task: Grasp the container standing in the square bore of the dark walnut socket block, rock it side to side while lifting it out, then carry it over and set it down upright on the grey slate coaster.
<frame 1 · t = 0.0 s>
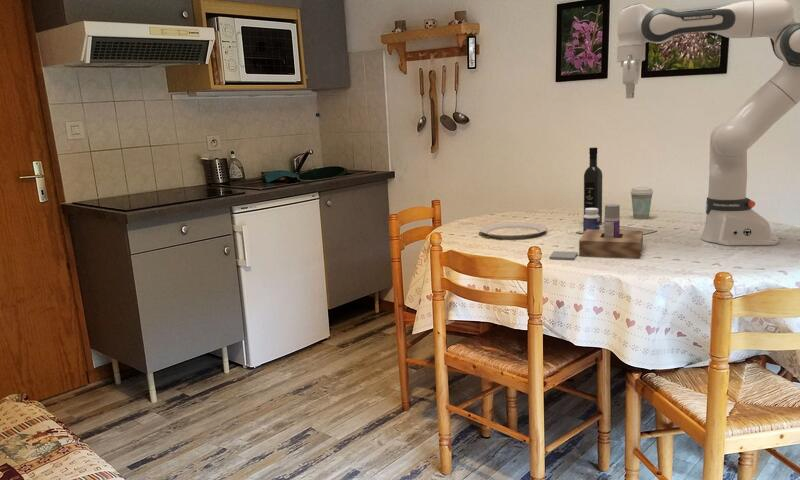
hand: (630, 98, 211), 48 cm above the table, fingers open, 8 cm apart
container: (611, 251, 203), resting in socket block
coffee cup: (641, 218, 253), on the table
coaster: (563, 256, 199), on the table
plate: (513, 233, 239), on the table
wine bottle: (592, 224, 246), on the table
pill bottle: (591, 236, 226), on the table
socket block: (611, 250, 203), on the table
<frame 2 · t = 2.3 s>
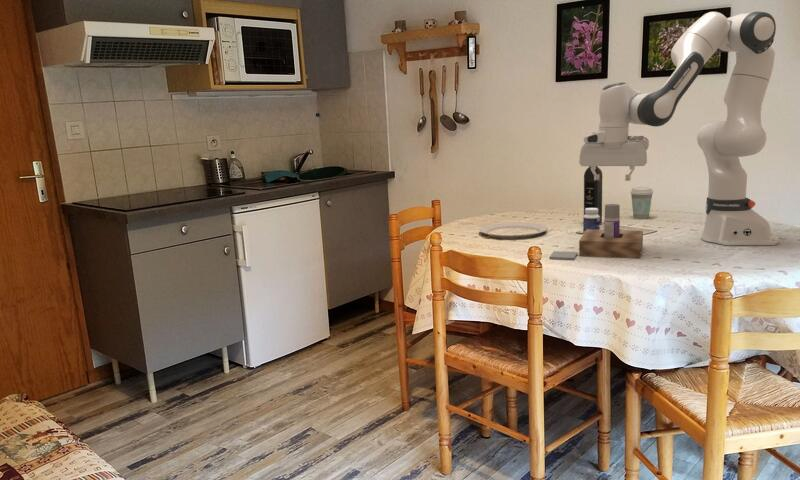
hand: (612, 180, 198), 23 cm above the table, fingers open, 8 cm apart
nothing on the table moved.
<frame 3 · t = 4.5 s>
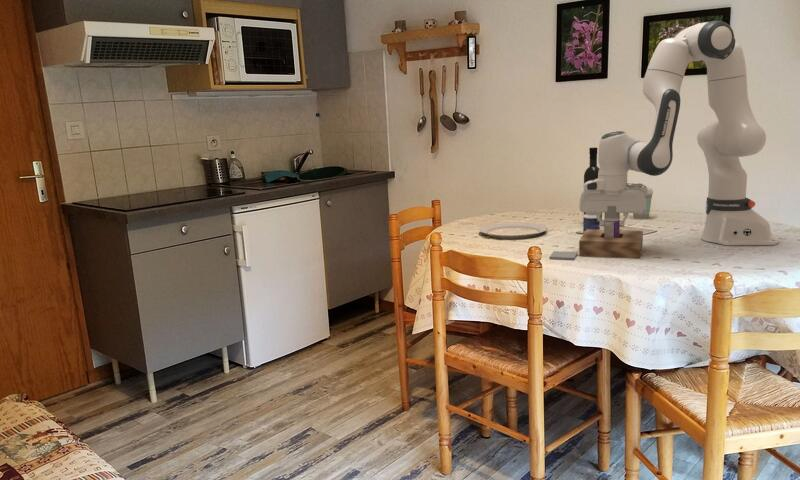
hand: (611, 226, 201), 8 cm above the table, fingers closed on container, 5 cm apart
container: (611, 251, 203), resting in socket block, touching gripper
everything else where it was.
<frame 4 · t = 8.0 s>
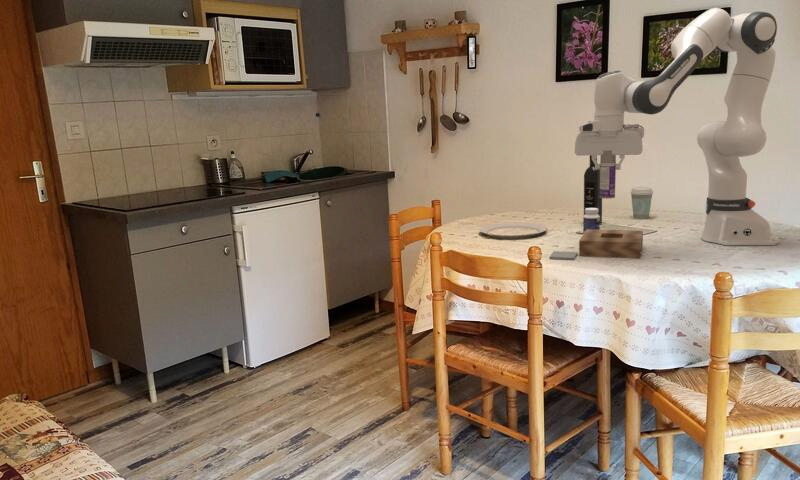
hand: (607, 169, 197), 27 cm above the table, fingers closed on container, 5 cm apart
container: (607, 198, 199), point 17 cm above the table, touching gripper
everything else where it was.
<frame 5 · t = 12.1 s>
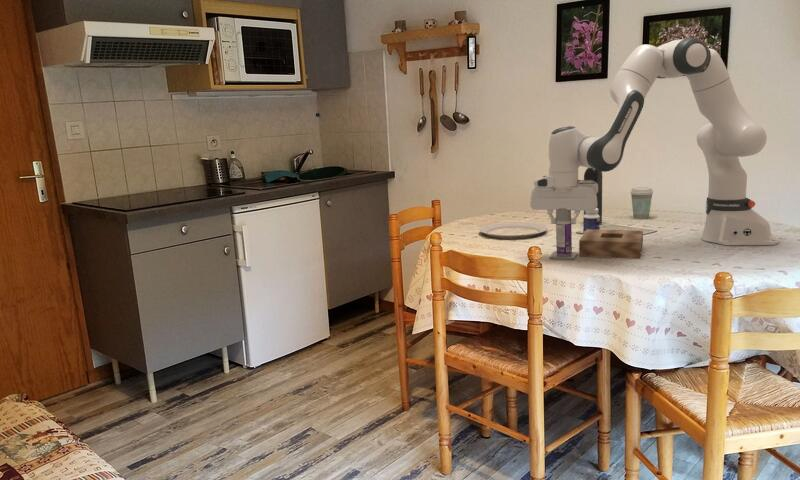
hand: (563, 223, 196), 11 cm above the table, fingers closed on container, 5 cm apart
container: (564, 254, 199), point 1 cm above the table, touching coaster, gripper
everything else where it was.
when the fingers open (11 cm above the table, at t = 12.7 s): container stays where it is, resting on coaster.
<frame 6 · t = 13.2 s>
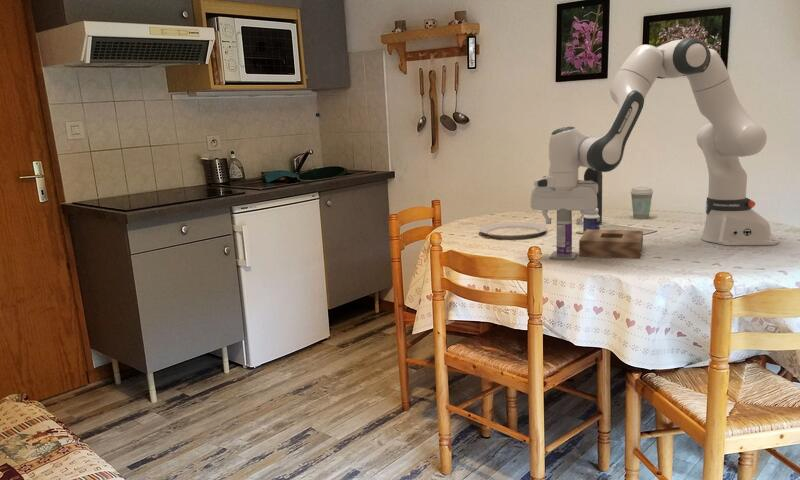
hand: (563, 224, 196), 11 cm above the table, fingers open, 8 cm apart
container: (564, 254, 199), point 1 cm above the table, touching coaster
everything else where it was.
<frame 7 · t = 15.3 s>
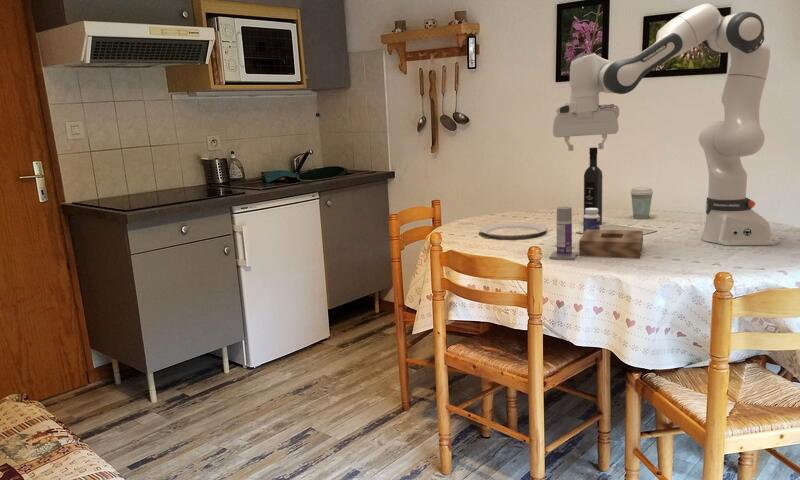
hand: (585, 149, 202), 33 cm above the table, fingers open, 8 cm apart
nothing on the table moved.
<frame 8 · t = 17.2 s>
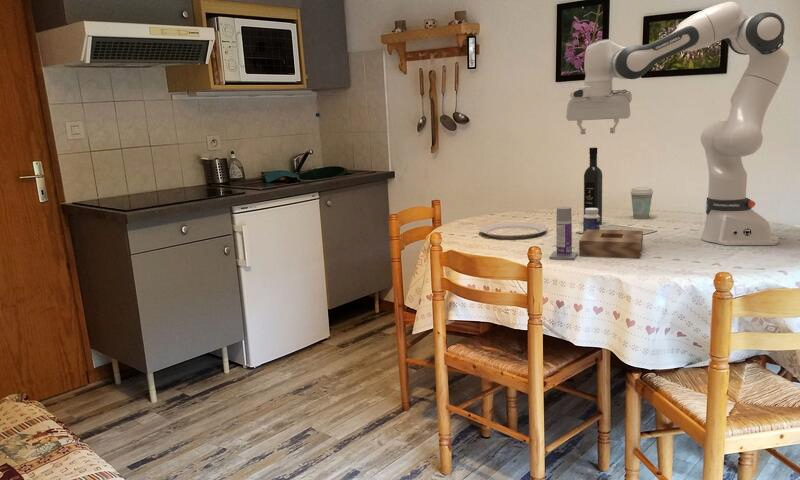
hand: (597, 133, 208), 37 cm above the table, fingers open, 8 cm apart
nothing on the table moved.
at the end: container inside the target area on the coaster (0.3 cm from its centre), point 0.6 cm above the coaster's base; container tilted 0°; the gripper is holding nothing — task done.
